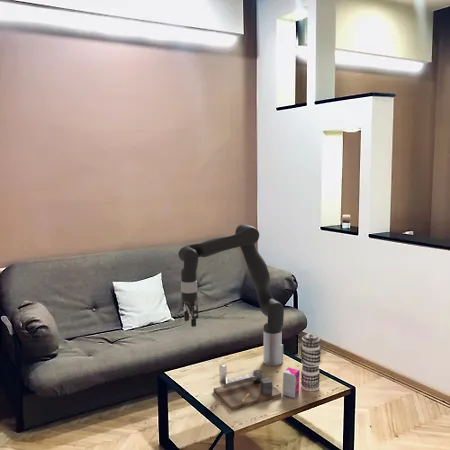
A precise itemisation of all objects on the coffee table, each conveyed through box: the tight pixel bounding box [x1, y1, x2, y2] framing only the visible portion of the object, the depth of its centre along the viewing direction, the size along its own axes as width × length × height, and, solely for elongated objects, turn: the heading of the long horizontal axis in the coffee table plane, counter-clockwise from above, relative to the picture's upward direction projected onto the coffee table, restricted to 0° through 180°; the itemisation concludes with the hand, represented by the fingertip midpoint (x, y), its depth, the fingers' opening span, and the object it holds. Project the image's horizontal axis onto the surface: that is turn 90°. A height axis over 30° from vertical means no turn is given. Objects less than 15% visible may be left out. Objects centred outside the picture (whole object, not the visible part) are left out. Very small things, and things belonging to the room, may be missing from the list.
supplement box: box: [282, 367, 301, 399], centre depth 222 cm, size 6×6×12 cm
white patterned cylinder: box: [300, 333, 322, 392], centre depth 228 cm, size 9×9×25 cm
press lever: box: [218, 363, 264, 388], centre depth 227 cm, size 22×4×12 cm, turn 116°
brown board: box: [213, 377, 283, 412], centre depth 223 cm, size 25×18×8 cm
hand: (190, 323), depth 231 cm, fingers open, 8 cm apart
